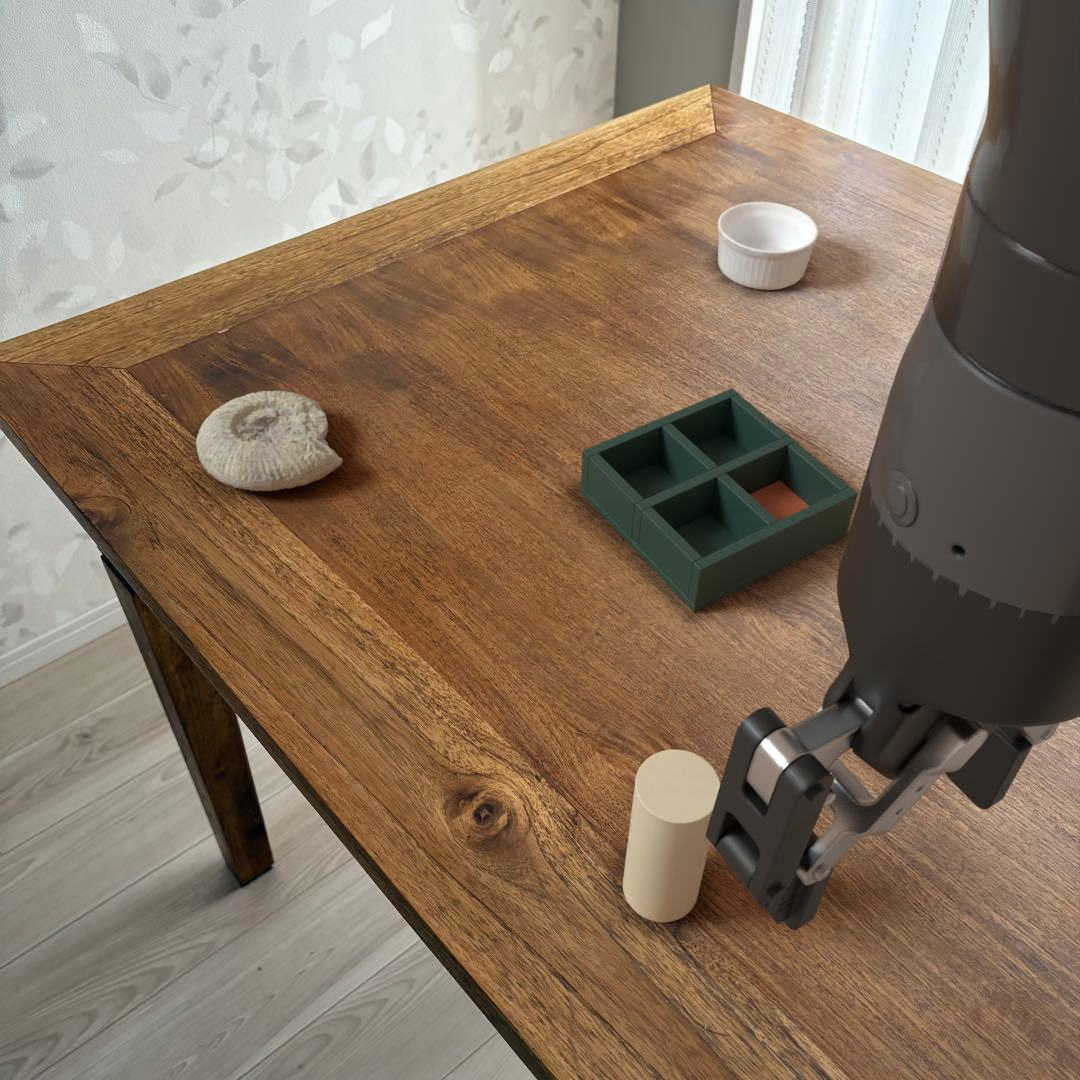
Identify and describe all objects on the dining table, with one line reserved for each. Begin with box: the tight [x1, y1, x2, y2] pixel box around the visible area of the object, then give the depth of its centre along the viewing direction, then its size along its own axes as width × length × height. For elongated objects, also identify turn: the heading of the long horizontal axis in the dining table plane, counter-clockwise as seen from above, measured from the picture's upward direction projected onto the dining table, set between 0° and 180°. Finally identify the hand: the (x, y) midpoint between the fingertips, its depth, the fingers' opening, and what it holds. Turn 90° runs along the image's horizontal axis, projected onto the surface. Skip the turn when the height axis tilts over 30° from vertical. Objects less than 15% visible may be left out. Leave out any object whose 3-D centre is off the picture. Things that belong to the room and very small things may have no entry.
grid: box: [580, 388, 859, 613], centre depth 77 cm, size 13×13×4 cm
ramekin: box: [717, 201, 820, 291], centre depth 100 cm, size 9×9×4 cm
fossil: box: [195, 390, 343, 492], centre depth 82 cm, size 11×4×10 cm
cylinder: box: [622, 748, 721, 923], centre depth 55 cm, size 4×4×10 cm
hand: (878, 842), depth 37 cm, fingers open, 8 cm apart
